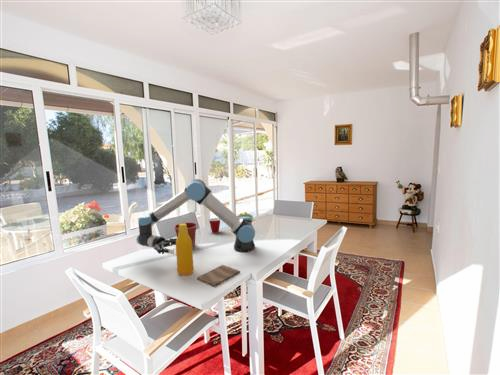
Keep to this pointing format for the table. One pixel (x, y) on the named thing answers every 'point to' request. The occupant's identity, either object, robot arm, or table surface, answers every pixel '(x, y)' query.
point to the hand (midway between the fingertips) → (182, 247)
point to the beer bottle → (184, 251)
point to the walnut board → (218, 275)
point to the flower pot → (191, 231)
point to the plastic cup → (215, 224)
